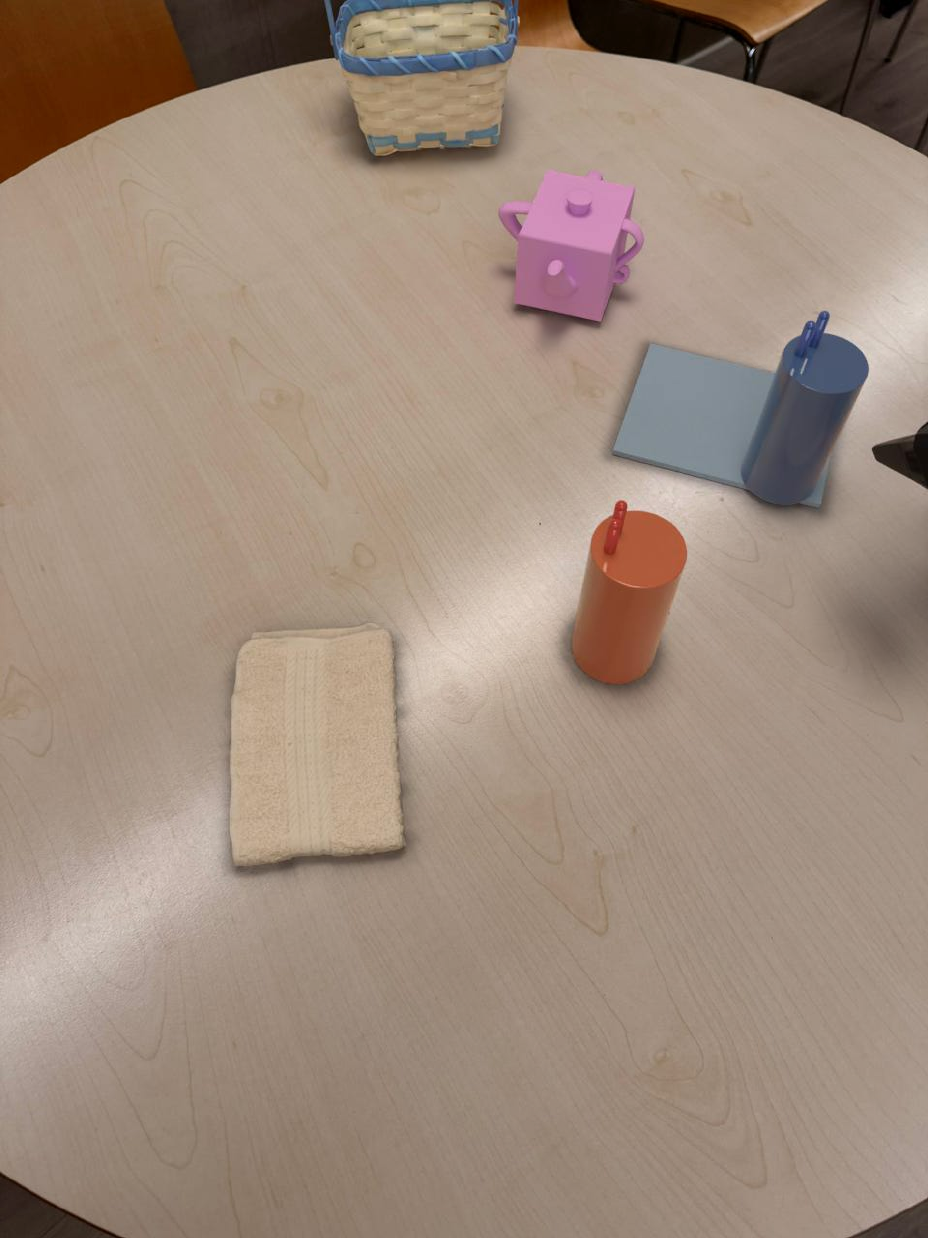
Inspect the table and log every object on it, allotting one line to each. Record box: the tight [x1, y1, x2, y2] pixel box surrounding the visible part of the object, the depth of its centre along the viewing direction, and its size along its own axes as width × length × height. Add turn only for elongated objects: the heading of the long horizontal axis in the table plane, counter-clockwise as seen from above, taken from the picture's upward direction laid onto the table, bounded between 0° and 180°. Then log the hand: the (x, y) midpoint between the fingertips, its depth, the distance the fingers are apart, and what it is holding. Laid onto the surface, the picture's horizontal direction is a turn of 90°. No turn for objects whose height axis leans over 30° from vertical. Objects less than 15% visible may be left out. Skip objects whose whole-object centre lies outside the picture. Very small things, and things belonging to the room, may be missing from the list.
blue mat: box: [611, 343, 832, 509], centre depth 91 cm, size 18×14×1 cm
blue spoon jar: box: [741, 310, 870, 506], centre depth 81 cm, size 6×6×16 cm
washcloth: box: [229, 621, 407, 867], centre depth 73 cm, size 12×18×3 cm, turn 6°
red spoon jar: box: [570, 499, 688, 685], centre depth 72 cm, size 6×6×16 cm
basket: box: [323, 0, 521, 157], centre depth 105 cm, size 21×16×24 cm
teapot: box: [497, 169, 645, 323], centre depth 96 cm, size 18×14×10 cm
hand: (914, 421), depth 73 cm, fingers open, 9 cm apart
